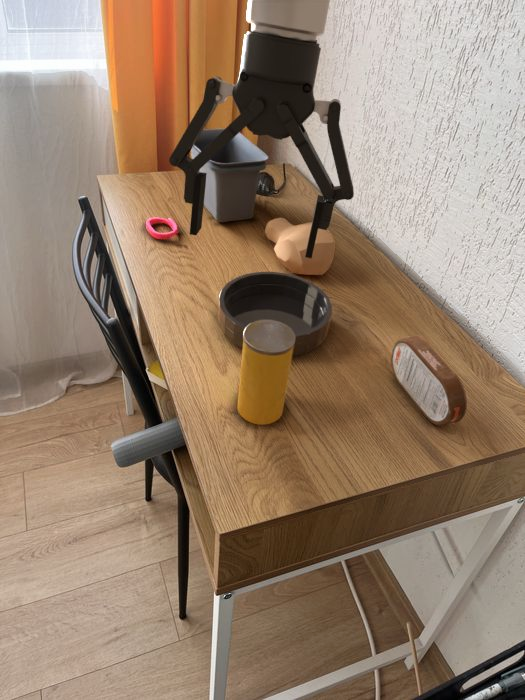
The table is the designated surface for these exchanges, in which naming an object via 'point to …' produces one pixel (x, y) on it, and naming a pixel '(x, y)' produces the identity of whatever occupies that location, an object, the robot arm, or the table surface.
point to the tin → (428, 381)
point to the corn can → (264, 370)
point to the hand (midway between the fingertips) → (252, 242)
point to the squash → (300, 247)
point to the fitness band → (161, 235)
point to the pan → (275, 307)
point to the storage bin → (230, 176)
